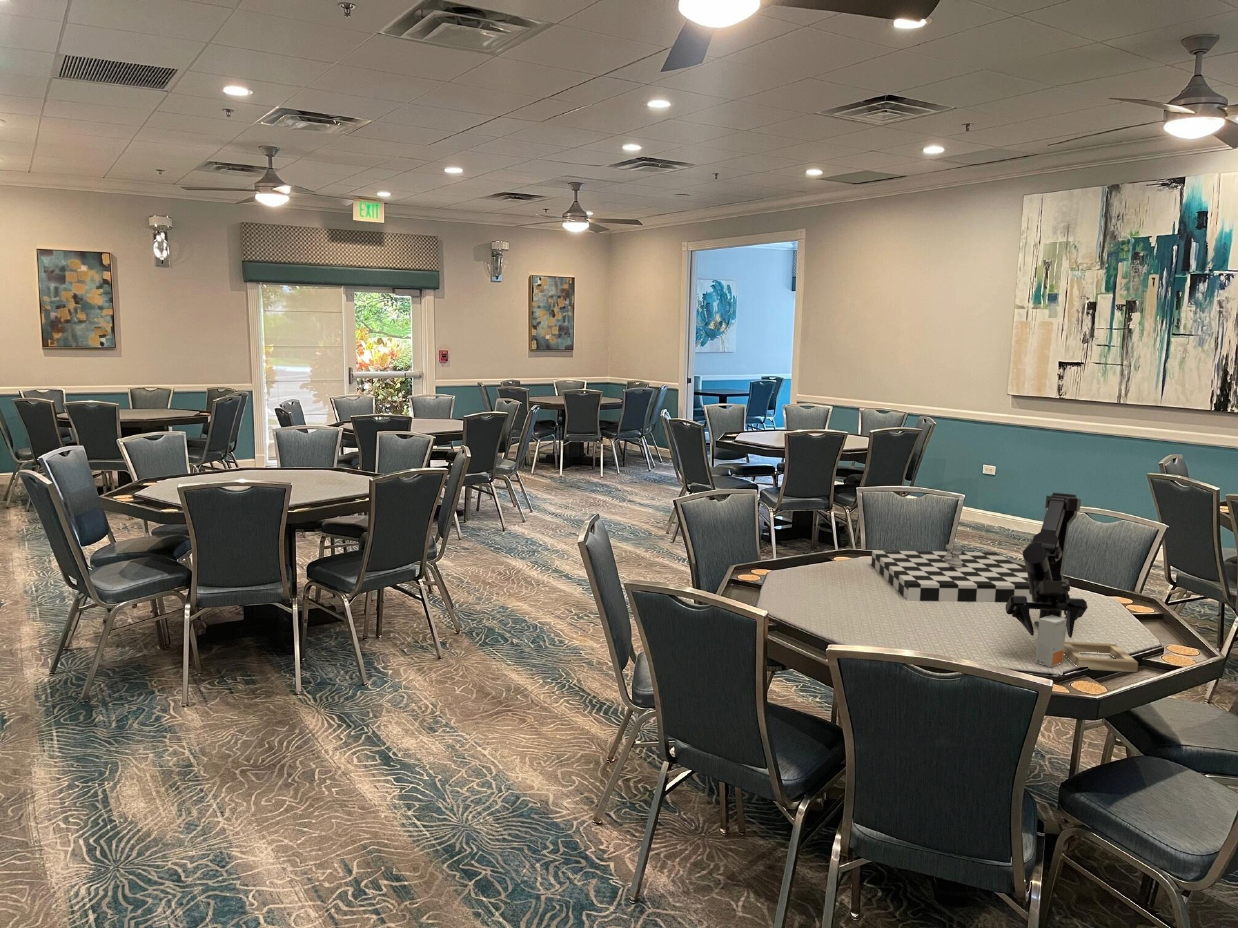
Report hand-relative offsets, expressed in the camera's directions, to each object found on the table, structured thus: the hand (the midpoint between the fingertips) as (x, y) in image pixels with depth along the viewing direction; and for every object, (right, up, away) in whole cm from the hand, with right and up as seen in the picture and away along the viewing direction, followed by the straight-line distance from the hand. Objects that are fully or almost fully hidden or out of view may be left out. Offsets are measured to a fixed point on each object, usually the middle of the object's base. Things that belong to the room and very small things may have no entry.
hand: (1051, 636), depth 230 cm
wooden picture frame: (+14, -7, +4) cm, 16 cm away
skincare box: (0, -8, +1) cm, 8 cm away
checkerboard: (+4, +3, +78) cm, 78 cm away
